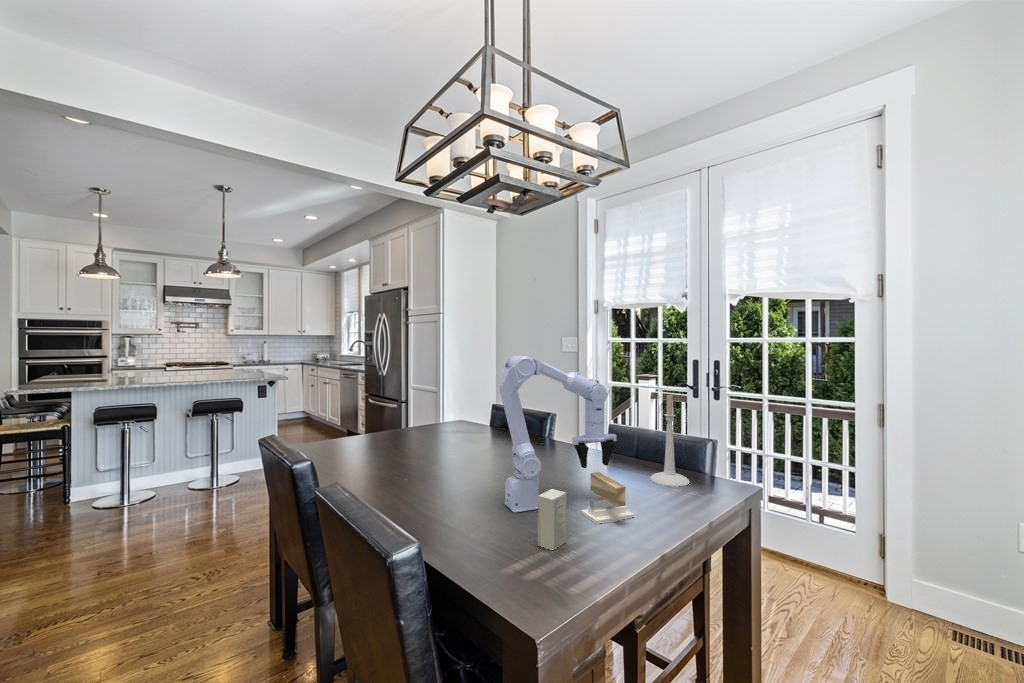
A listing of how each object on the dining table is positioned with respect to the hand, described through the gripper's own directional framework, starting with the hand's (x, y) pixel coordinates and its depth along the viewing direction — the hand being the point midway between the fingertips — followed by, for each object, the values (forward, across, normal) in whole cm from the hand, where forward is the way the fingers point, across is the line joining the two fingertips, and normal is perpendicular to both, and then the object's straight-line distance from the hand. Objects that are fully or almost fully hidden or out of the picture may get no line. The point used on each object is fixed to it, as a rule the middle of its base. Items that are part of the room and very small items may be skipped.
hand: (594, 466), depth 138 cm
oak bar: (+5, -4, -13) cm, 14 cm away
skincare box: (+10, -26, -23) cm, 36 cm away
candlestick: (+10, +33, +5) cm, 35 cm away
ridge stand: (+10, -4, -13) cm, 17 cm away
